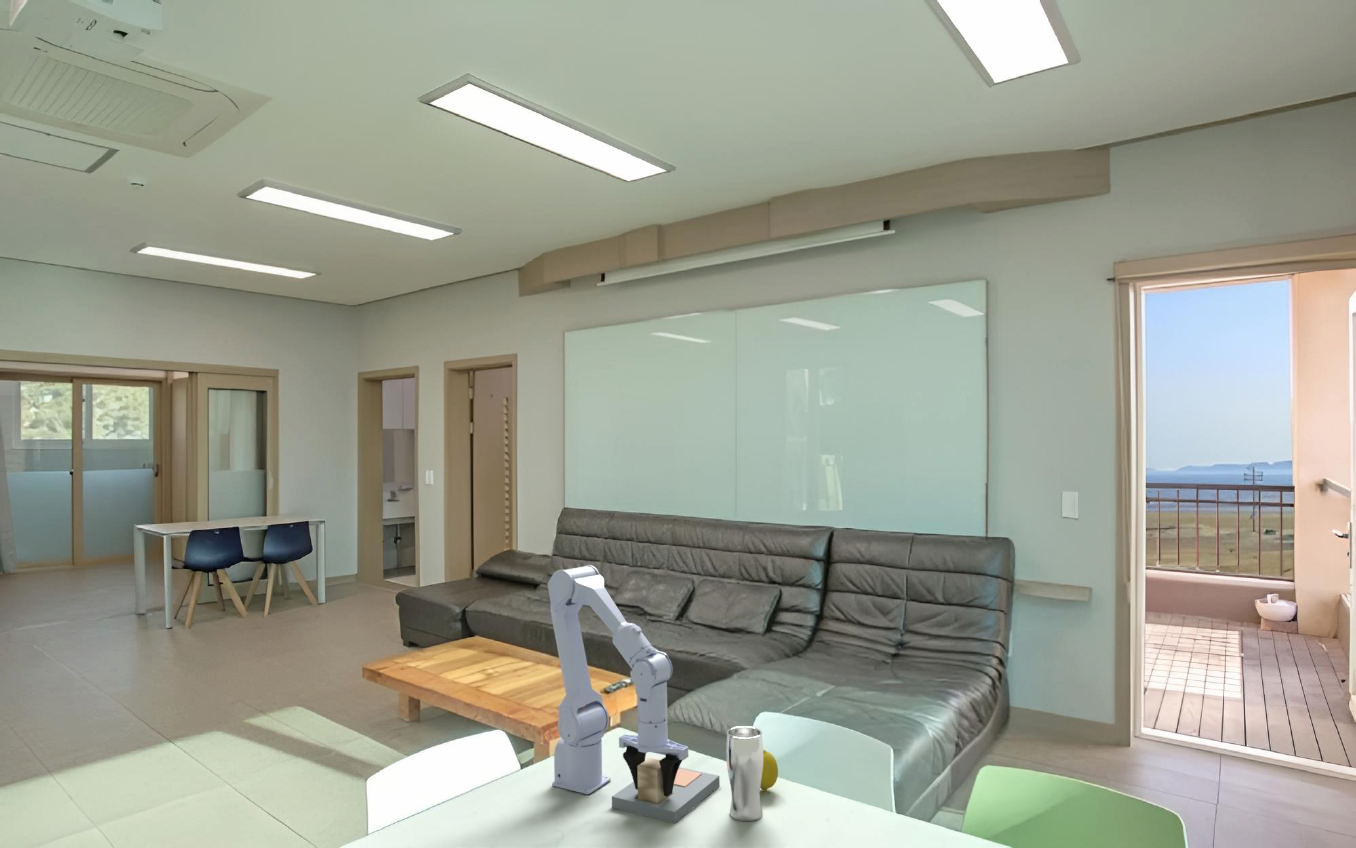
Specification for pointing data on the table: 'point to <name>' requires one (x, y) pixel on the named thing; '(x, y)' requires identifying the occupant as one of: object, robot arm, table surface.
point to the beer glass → (745, 771)
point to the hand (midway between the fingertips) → (653, 791)
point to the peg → (650, 782)
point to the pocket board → (682, 799)
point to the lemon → (768, 771)
